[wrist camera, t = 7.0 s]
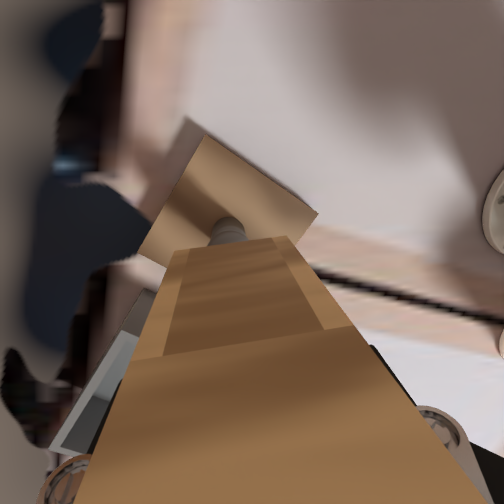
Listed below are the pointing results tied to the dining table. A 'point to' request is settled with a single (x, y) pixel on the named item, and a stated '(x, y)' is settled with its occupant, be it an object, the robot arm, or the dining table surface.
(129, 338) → the charcoal bin
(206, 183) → the stud block
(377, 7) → the dining table surface
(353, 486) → the oak strut
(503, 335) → the decorative container
